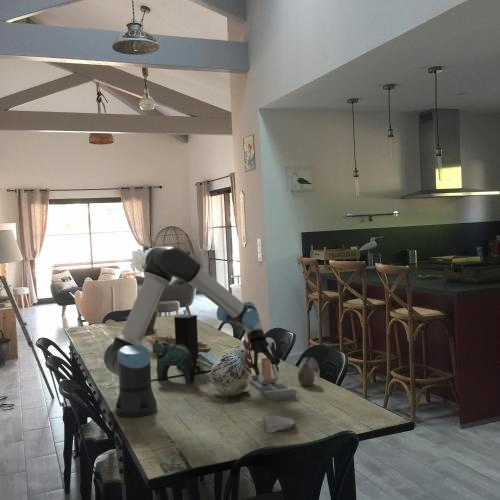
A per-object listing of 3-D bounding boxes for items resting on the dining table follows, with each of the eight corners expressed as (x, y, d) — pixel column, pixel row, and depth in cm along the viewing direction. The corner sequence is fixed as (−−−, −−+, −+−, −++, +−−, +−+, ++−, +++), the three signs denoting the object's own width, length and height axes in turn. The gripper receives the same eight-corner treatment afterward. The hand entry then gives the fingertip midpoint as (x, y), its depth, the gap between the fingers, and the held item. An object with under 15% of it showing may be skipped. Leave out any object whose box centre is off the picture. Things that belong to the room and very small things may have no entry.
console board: (249, 383, 234) (249, 375, 234) (271, 380, 238) (271, 372, 237) (271, 401, 210) (271, 392, 210) (295, 397, 213) (295, 388, 213)
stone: (293, 419, 190) (293, 409, 190) (296, 432, 179) (295, 422, 178) (263, 421, 190) (263, 410, 190) (264, 434, 179) (264, 423, 178)
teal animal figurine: (152, 380, 245) (150, 335, 244) (161, 376, 250) (159, 332, 249) (190, 384, 235) (188, 338, 234) (198, 380, 241) (196, 335, 240)
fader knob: (257, 381, 230) (257, 358, 230) (271, 379, 232) (270, 357, 232) (261, 384, 226) (261, 361, 225) (275, 382, 228) (274, 359, 227)
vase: (314, 387, 225) (313, 366, 225) (297, 387, 226) (296, 366, 226) (315, 382, 232) (314, 362, 231) (299, 382, 233) (298, 362, 233)
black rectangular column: (176, 368, 263) (173, 310, 261) (185, 364, 270) (183, 307, 268) (189, 370, 259) (187, 311, 258) (199, 365, 266) (196, 308, 265)
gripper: (273, 336, 246) (288, 382, 231) (232, 340, 239) (245, 387, 225) (277, 326, 241) (293, 372, 226) (236, 330, 234) (249, 378, 220)
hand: (269, 380), depth 225 cm, fingers open, 6 cm apart
